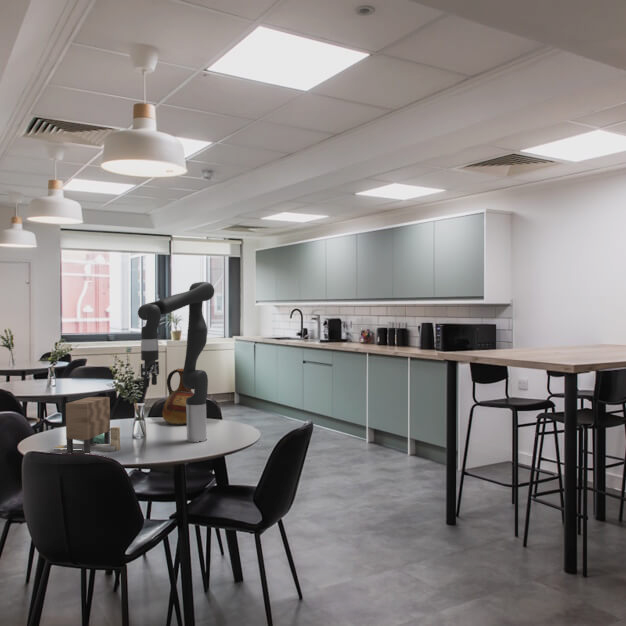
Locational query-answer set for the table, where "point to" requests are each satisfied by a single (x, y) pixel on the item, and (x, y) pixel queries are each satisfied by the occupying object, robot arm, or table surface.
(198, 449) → the table surface
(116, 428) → the plank with tan block
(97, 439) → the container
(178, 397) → the ceramic pitcher
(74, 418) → the walnut cabinet
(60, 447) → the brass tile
